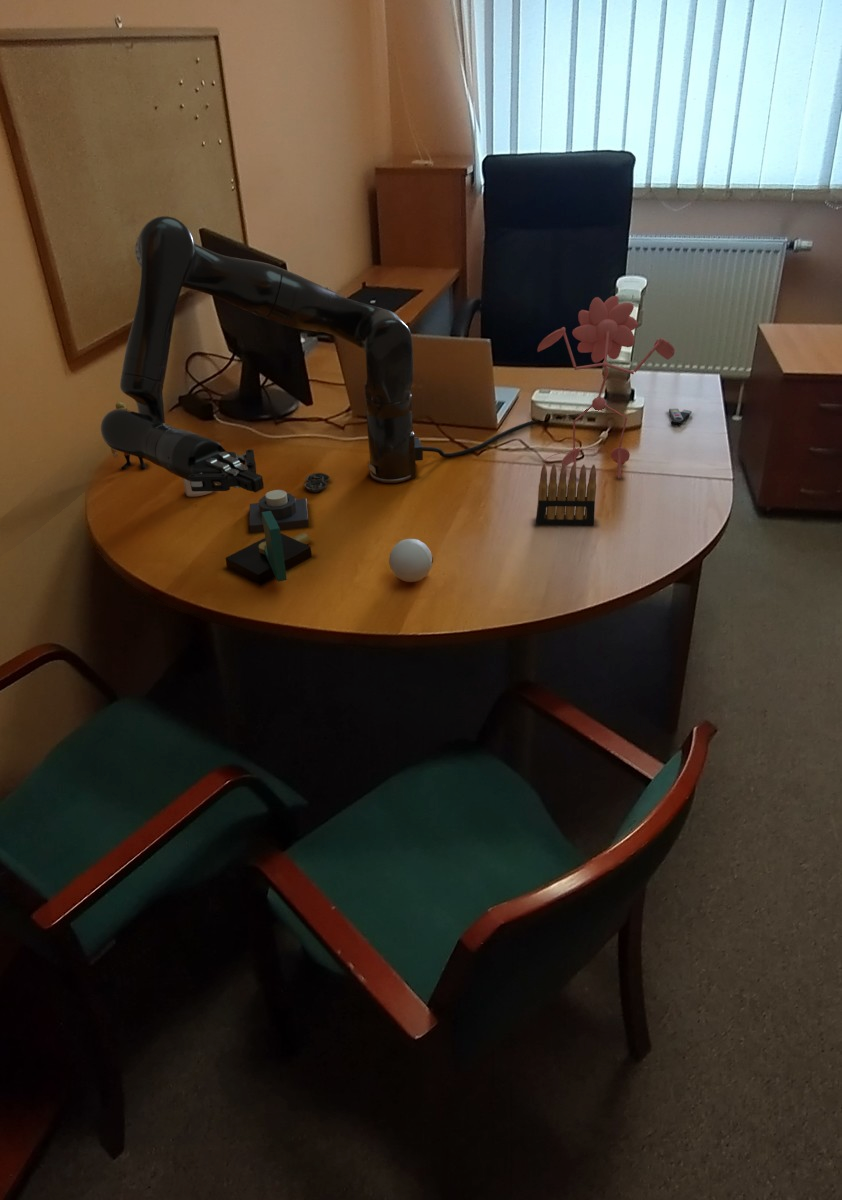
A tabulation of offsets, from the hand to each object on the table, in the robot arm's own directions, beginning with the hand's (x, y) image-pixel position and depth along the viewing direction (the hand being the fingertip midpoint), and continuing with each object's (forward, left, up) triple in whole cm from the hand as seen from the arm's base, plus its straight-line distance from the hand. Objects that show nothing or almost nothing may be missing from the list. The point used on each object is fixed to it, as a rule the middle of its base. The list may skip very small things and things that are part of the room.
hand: (259, 484), depth 127 cm
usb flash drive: (-94, -59, -21) cm, 113 cm away
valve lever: (0, -8, -19) cm, 21 cm away
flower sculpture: (-67, -39, -22) cm, 80 cm away
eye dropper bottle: (+15, -44, -22) cm, 51 cm away
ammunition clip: (-54, -16, -22) cm, 60 cm away
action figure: (+30, -60, -22) cm, 70 cm away
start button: (-1, -29, -18) cm, 34 cm away
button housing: (-1, -29, -21) cm, 36 cm away
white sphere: (-23, -4, -22) cm, 32 cm away
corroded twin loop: (-9, -42, -21) cm, 48 cm away
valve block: (0, -14, -21) cm, 25 cm away
